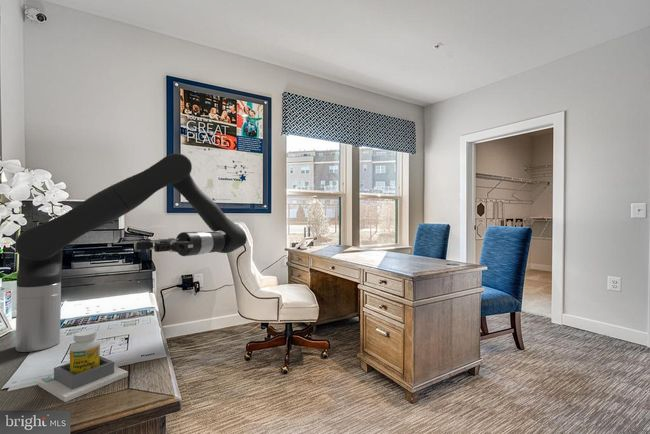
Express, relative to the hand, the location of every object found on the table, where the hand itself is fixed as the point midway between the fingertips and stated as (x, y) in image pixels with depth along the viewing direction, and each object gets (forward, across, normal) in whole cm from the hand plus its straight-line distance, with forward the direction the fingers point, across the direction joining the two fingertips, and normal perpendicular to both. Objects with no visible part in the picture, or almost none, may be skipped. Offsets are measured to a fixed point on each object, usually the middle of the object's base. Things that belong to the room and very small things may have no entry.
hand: (145, 247), depth 88 cm
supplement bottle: (+17, +6, +27) cm, 33 cm away
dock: (+17, +6, +28) cm, 33 cm away
